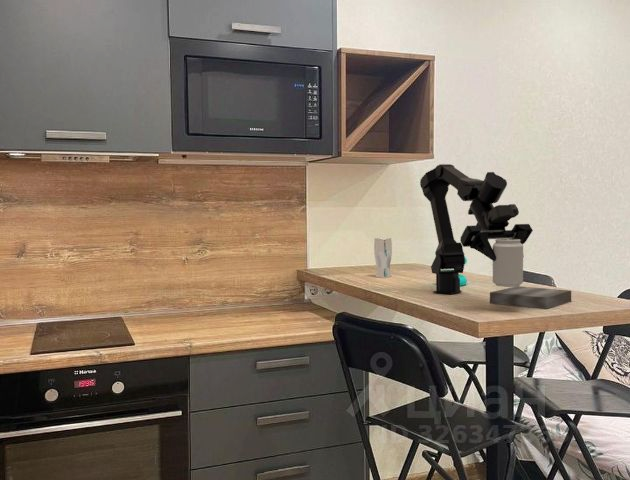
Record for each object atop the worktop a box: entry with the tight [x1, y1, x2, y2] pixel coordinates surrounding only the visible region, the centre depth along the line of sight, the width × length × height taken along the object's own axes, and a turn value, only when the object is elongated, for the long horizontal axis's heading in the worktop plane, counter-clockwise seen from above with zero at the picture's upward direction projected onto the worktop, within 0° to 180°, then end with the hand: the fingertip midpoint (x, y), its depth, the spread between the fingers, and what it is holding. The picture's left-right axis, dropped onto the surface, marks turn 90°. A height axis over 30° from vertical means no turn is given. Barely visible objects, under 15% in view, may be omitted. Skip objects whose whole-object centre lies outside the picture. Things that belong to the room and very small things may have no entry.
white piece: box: [373, 237, 393, 279], centre depth 232 cm, size 7×7×15 cm
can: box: [492, 239, 524, 288], centre depth 153 cm, size 8×8×12 cm
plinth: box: [489, 285, 572, 310], centre depth 165 cm, size 16×16×3 cm
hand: (508, 259), depth 153 cm, fingers closed on can, 7 cm apart
